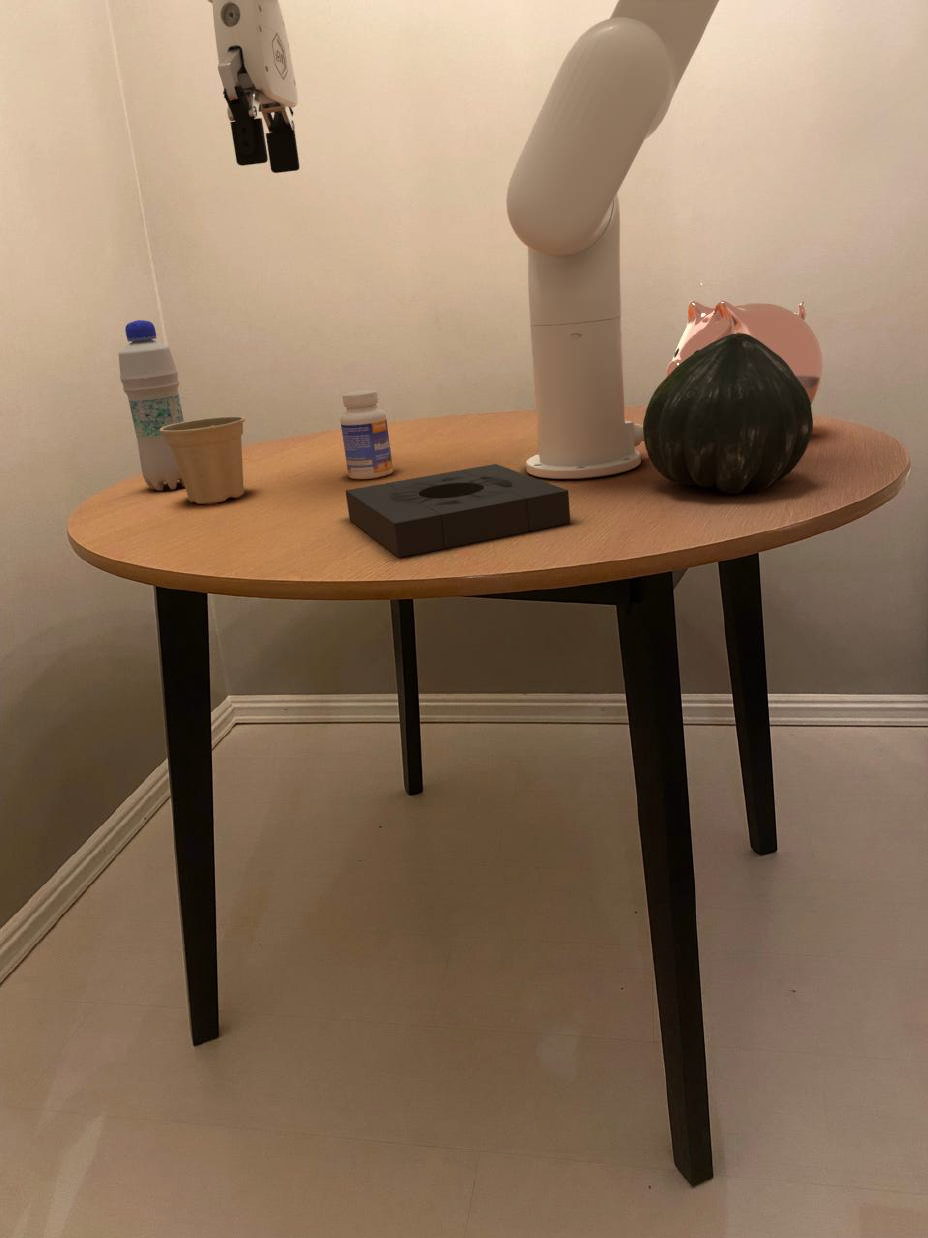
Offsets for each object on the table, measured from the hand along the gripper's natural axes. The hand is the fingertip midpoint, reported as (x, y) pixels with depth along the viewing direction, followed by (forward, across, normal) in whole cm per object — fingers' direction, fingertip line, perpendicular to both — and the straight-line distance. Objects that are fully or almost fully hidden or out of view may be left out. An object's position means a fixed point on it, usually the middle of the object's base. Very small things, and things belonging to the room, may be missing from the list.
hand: (269, 167), depth 100 cm
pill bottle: (+34, +1, -6) cm, 35 cm away
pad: (+34, -23, -21) cm, 46 cm away
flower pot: (+34, -6, +10) cm, 36 cm away
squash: (+34, -14, -46) cm, 59 cm away
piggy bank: (+34, +9, -50) cm, 61 cm away
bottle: (+34, +2, +20) cm, 39 cm away
